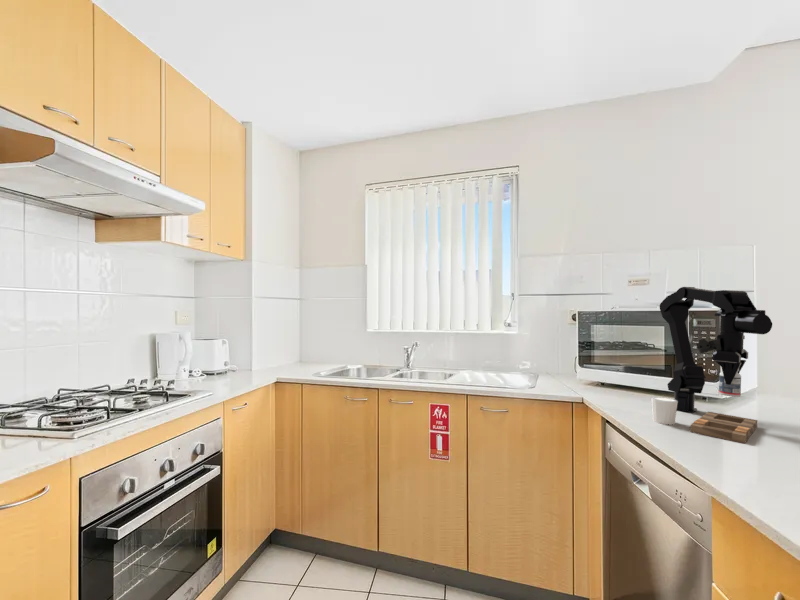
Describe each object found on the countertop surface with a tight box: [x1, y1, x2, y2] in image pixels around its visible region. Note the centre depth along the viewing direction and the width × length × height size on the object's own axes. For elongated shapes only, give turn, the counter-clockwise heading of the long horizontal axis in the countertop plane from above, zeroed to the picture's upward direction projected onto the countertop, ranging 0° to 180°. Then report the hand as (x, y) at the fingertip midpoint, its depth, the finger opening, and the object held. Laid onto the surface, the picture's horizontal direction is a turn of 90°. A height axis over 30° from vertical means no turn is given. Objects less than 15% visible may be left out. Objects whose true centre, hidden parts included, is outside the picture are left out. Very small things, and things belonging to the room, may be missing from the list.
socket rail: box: [690, 411, 758, 444], centre depth 122 cm, size 24×12×2 cm, turn 134°
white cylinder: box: [650, 396, 678, 426], centre depth 128 cm, size 7×7×7 cm
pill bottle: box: [718, 369, 742, 398], centre depth 127 cm, size 5×5×9 cm
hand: (729, 383), depth 127 cm, fingers closed on pill bottle, 5 cm apart
